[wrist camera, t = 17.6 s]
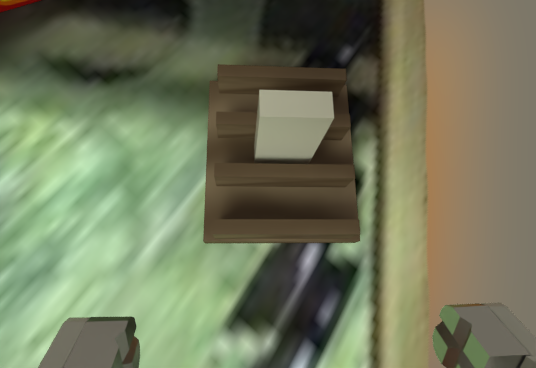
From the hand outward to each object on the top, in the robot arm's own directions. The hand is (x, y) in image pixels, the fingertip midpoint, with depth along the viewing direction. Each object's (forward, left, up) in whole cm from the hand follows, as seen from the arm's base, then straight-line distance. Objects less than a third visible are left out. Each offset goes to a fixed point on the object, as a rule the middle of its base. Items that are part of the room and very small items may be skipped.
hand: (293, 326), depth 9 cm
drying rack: (-10, +8, -22) cm, 26 cm away
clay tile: (-10, +8, -21) cm, 24 cm away
